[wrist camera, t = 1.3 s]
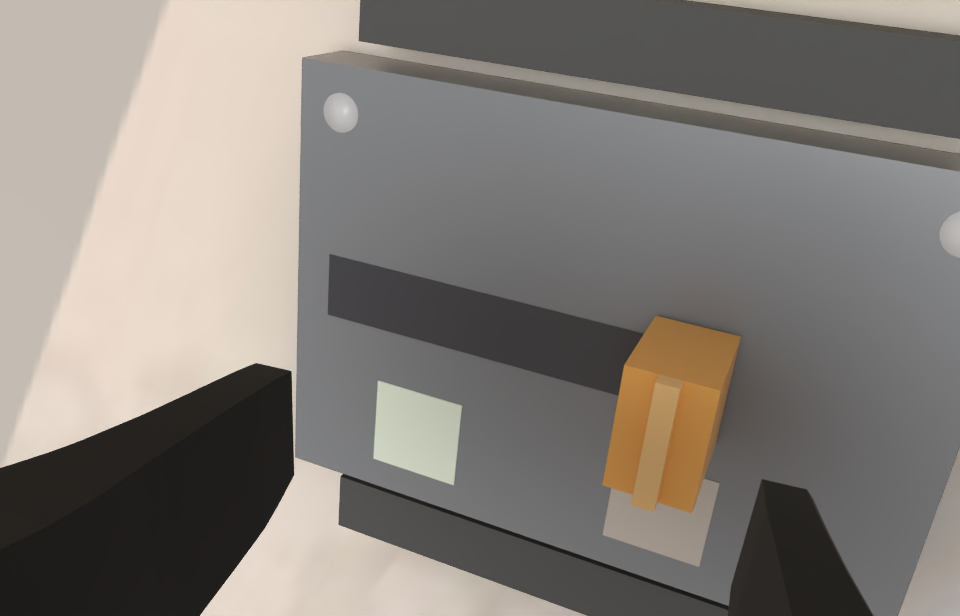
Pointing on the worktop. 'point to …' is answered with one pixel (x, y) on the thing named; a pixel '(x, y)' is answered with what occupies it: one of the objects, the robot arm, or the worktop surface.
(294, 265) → the worktop surface
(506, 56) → the dark grey flat bars
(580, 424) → the panel
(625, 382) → the knob
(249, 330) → the worktop surface
